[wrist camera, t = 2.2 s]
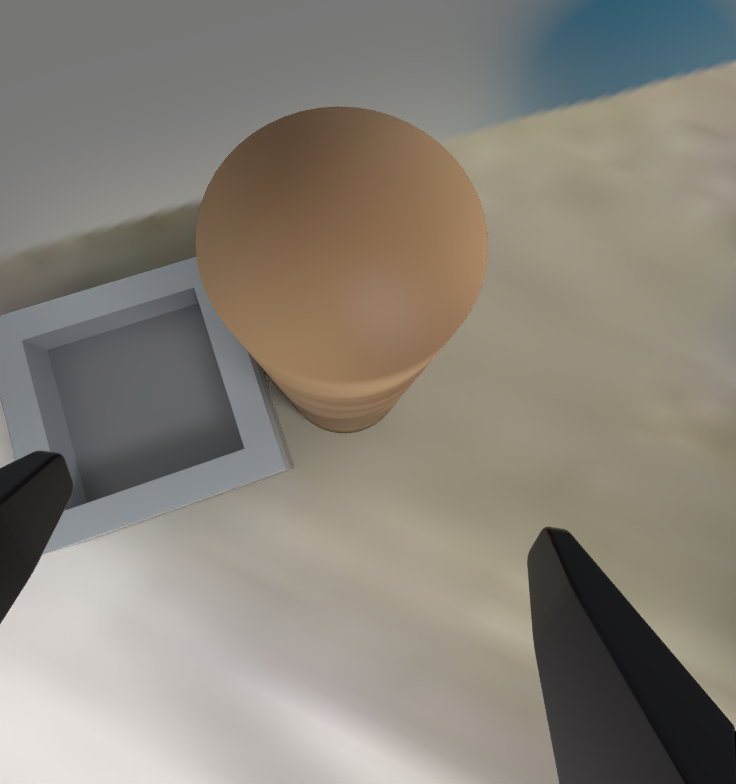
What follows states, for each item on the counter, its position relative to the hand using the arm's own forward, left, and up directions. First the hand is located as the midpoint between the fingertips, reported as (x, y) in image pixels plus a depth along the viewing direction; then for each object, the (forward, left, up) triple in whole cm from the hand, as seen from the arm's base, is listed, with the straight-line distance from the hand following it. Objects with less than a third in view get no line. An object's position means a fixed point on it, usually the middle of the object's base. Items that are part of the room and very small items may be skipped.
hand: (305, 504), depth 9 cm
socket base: (-3, +7, -11) cm, 14 cm away
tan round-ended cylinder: (+4, +3, -11) cm, 12 cm away
